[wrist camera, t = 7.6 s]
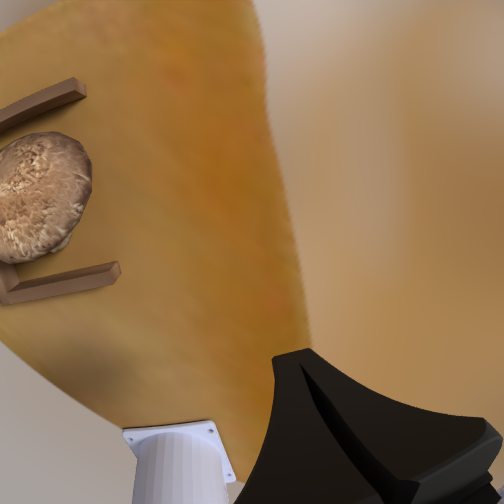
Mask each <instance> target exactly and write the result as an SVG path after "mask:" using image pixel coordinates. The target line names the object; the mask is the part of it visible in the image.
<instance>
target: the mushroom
mask: <svg viewBox="0 0 504 504" xmlns="http://www.w3.org/2000/svg"><path fill="white" fill-rule="evenodd" d="M91 192H92V164H91V161H90V159H89V157H88V155H87V153H86V151H85V149H84V147H83V146H82V145H81V143H80V142H79V141H77V140H75V139H73V138H71V137H68V136H66V135H64V134H61V133H59V132H42V133H33V134H29V135H26V136H24V137H21V138H19V139H17V140H15V141H13V142H11V143H10V144H8V145H7V146H5V147H4V148H2V149H1V150H0V260H1V261H3V262H5V263H7V264H13V263H22V262H32V261H36V260H37V259H39V258H40V257H42V256H43V255H45V254H47V253H48V252H53V253H55V252H57V251H59V250H62V249H63V248H64V247H65V246H67V245H68V244H69V241H70V239H71V236H72V232H71V231H72V230H73V228H74V227H75V226H76V225H77V224H78V222H79V221H80V218H81V216H82V213H83V211H84V209H85V206H86V204H87V201H88V199H89V197H90V194H91Z"/></svg>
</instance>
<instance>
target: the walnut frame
mask: <svg viewBox="0 0 504 504" xmlns="http://www.w3.org/2000/svg"><path fill="white" fill-rule="evenodd" d="M84 97H87V95H86V85H85V84H83V83H82V82H80V81H79V80H77V79H75V78H74V77H73V78H70V79H68V80H65V81H63V82H60V83H57V84H55V85H53V86H50V87H48V88H45V89H43V90H41V91H38V92H36V93H34V94H32V95H30V96H27V97H25V98H23V99H21V100H19V101H17V102H15V103H13V104H11V105H9V106H7V107H5V108H3V109H1V110H0V132H2V131H4V130H6V129H8V128H10V127H12V126H15V125H17V124H19V123H21V122H23V121H25V120H28V119H30V118H32V117H34V116H37V115H39V114H42V113H44V112H46V111H49V110H51V109H54V108H56V107H59V106H62V105H64V104H67V103H70V102H72V101H75V100H78V99H81V98H84ZM120 274H121V270H120V267H119V263H118V261H115V262H110V263H106V264H101V265H96V266H92V267H87V268H83V269H78V270H73V271H69V272H64V273H60V274H55V275H51V276H46V277H42V278H37V279H33V280H29V281H24V282H20V281H19V278H18V275H17V272H16V269H15V266H14V263H13V264H7V263H5V262H3V261H1V260H0V300H1V303H2V305H3V306H4V305H9V304H14V303H20V302H25V301H30V300H35V299H41V298H46V297H51V296H56V295H62V294H67V293H72V292H77V291H82V290H88V289H93V288H98V287H103V286H108V285H113V284H114V283H115V281H116V280H117V278H118V277H119V276H120Z"/></svg>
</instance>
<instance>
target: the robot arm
mask: <svg viewBox="0 0 504 504" xmlns="http://www.w3.org/2000/svg"><path fill="white" fill-rule="evenodd" d="M272 366H273V372H274V378H275V385H274V399H273V405H272V411H271V417H270V421H269V425H268V429H267V433H266V436H265V439H264V442H263V445H262V448H261V451H260V454H259V456H258V459H257V461H256V463H255V466H254V468H253V470H252V472H251V474H250V476H249V478H248V480H247V482H246V484H245V486H244V488H243V489H242V491H241V493H240V494H239V496H238V497H237V499H236V501H235V502H234V504H504V486H503V487H501V488H500V489H499V490H497V491H496V490H495V489H494V487H493V486H492V485H491V484H490V482H491V481H492V480H493V478H492V476H491V474H490V473H489V472H488V469H489V467H490V466H491V464H492V463H493V461H494V459H495V458H496V456H497V455H498V453H499V451H500V449H501V447H502V441H503V438H502V436H501V435H500V434H499V433H498V432H497V431H496V430H495V429H494V428H493V426H492V425H490V424H489V423H488V422H487V421H486V420H485V419H484V418H479V417H466V416H455V415H448V414H443V413H437V412H432V411H428V410H424V409H420V408H417V407H413V406H410V405H407V404H404V403H401V402H398V401H395V400H392V399H390V398H388V397H386V396H383V395H381V394H379V393H377V392H375V391H372V390H370V389H368V388H367V387H365V386H363V385H362V384H360V383H358V382H356V381H355V380H353V379H352V378H350V377H348V376H347V375H345V374H344V373H342V372H341V371H339V370H338V369H337V368H335V367H334V366H332V365H331V364H330V363H328V362H327V361H326V360H324V359H323V358H322V357H320V356H319V355H318V354H317V353H315V352H314V351H313V350H312V349H310V348H306V349H302V350H298V351H294V352H290V353H286V354H282V355H278V356H274V357H273V358H272ZM209 429H212V430H209ZM122 436H123V437H124V439H125V440H126V442H127V444H128V445H129V447H130V448H131V449H132V451H133V453H134V454H135V456H136V457H137V459H138V460H137V467H136V475H135V483H134V490H133V499H132V504H229V501H228V493H227V486H226V483H230V482H234V481H235V480H236V476H235V474H234V472H233V469H232V467H231V464H230V462H229V459H228V457H227V454H226V452H225V449H224V447H223V444H222V441H221V439H220V436H219V434H218V431H217V428H216V425H215V423H214V422H213V421H210V420H207V421H200V422H193V423H186V424H178V425H169V426H159V427H148V428H134V429H124V430H123V432H122Z"/></svg>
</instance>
